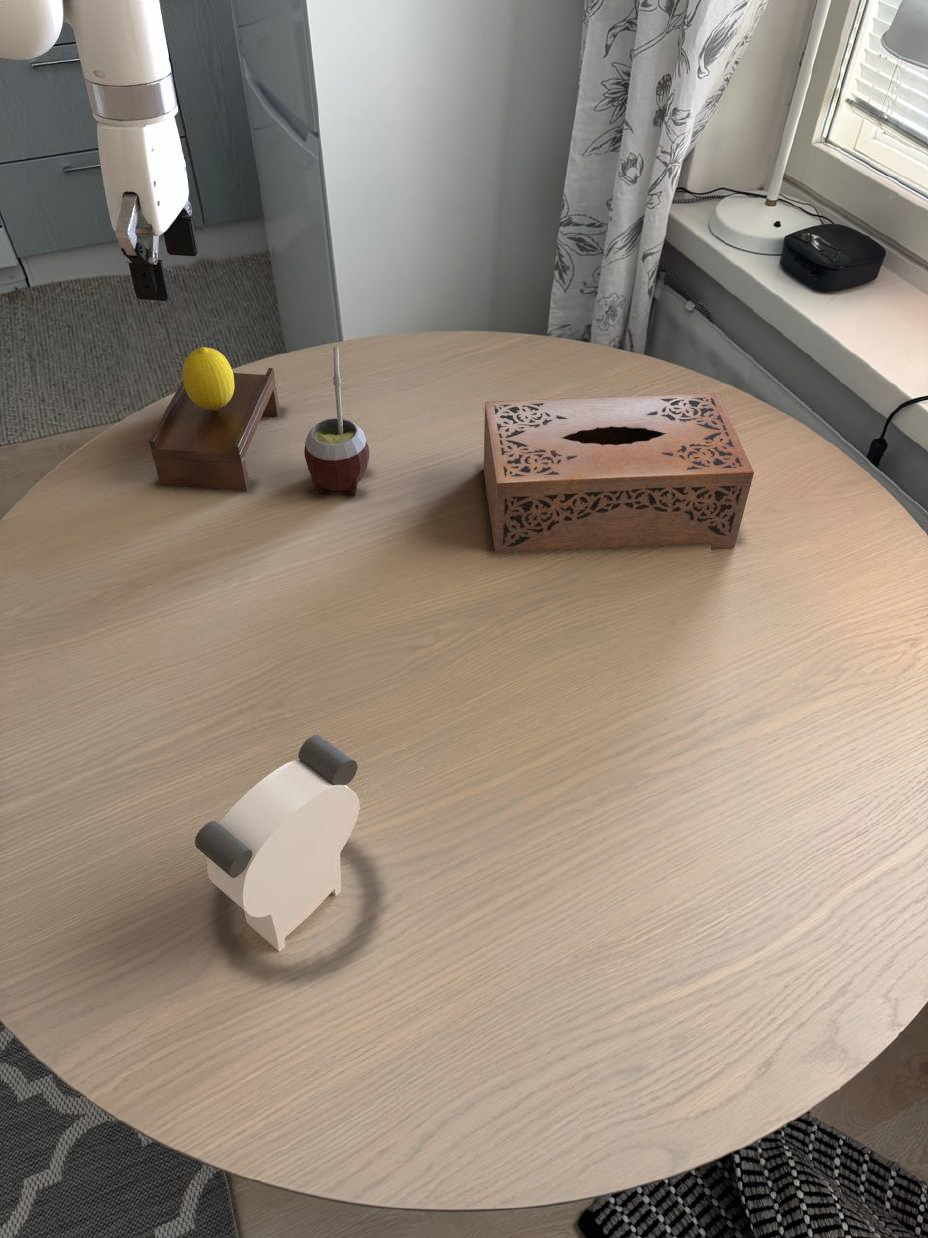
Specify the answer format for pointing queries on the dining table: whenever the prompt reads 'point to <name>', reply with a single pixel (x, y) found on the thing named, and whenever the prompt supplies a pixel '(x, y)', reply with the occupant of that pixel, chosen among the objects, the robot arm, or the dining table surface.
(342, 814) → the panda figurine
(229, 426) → the shelf
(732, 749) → the dining table surface
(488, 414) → the tissue box cover
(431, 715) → the dining table surface
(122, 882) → the dining table surface
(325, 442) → the mate gourd
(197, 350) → the lemon
